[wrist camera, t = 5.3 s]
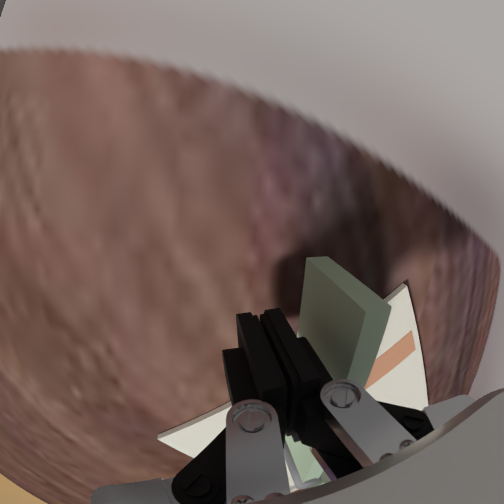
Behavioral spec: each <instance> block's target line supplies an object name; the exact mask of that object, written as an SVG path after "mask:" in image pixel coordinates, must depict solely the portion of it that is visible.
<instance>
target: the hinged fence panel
mask: <svg viewBox="0 0 504 504" xmlns="http://www.w3.org/2000/svg"><path fill="white" fill-rule="evenodd" d="M391 309H392V307H391V306H390V305H389V304H388V303H387V302H385V301H384V300H383V299H382V298H380V297H379V296H378V295H377V294H375V293H374V292H373V291H372V290H370V289H369V288H368V287H367V286H365V285H364V284H363V283H361V282H360V281H359V280H358V279H356V278H355V277H354V276H353V275H351V274H350V273H349V272H347V271H346V270H345V269H344V268H342V267H341V266H340V265H338V264H337V263H336V262H334V261H333V260H332V259H330V258H329V257H328V256H324V257H306V265H305V275H304V284H303V292H302V301H301V309H300V317H299V324H298V331H297V338H298V337H303V336H304V337H306V338H307V340H308V341H309V343H310V344H311V346H312V347H313V349H314V350H315V352H316V354H317V355H318V357H319V358H320V360H321V361H322V363H323V364H324V366H325V367H326V369H327V371H328V372H329V374H330V375H331V377H332V378H333V380H336V379H349V380H352V381H355V382H357V383H358V384H360V385H361V386H362V387H363V388H365V385H366V383H367V380H368V378H369V375H370V373H371V370H372V367H373V365H374V362H375V359H376V356H377V353H378V351H379V348H380V345H381V342H382V339H383V336H384V332H385V329H386V326H387V323H388V319H389V316H390V312H391ZM283 451H284V457H285V461H286V464H287V466H288V469H289V472H290V474H291V477H292V479H293V482H294V485H295V487H296V489H304V488H308V487H311V486H313V485H315V484H317V483H319V482H320V481H321V480H322V478H321V476H320V475H321V474H322V472H323V469H322V467H321V466H320V464H319V463H318V462H317V460H316V459H315V457H314V456H313V454H312V453H311V451H310V449H309V446H306V445H304V444H302V443H301V441H298V442H294V441H293V438H292V436H285V444H284V449H283Z"/></svg>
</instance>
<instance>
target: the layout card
mask: <svg viewBox="0 0 504 504" xmlns="http://www.w3.org/2000/svg"><path fill="white" fill-rule="evenodd" d="M383 300H384V301H385V302H387V303H388V304H389V305H390V306H391V307H392V309H391V312H390V316H389V319H388V323H387V326H386V329H385V332H384V336H383V339H382V342H381V345H380V348H379V351H378V353H377V356H376V359H375V362H374V365H373V367H372V370H371V373H370V375H369V378H368V380H367V383H366V385H365V388H364V389H365V390H366V391H367V392H368V393H369V394H370V395H371V396H372V397H373V398H374V399H375V400H376V401H381V402H385V403H389V404H394V405H398V406H403V407H408V408H413V409H417V410H420V411H422V409H423V408H424V407H427V406H428V398H427V388H426V380H425V372H424V365H423V359H422V352H421V347H420V341H419V336H418V331H417V326H416V321H415V317H414V312H413V308H412V304H411V300H410V296H409V292H408V288H407V286H406V285H405V284H403V283H402V284H401V285H400V286H399V287H398V288H396V289H395V290H394V291H393V292H392V293H391V294H389V295H388V296H387V297H386V298H385V299H383ZM231 407H232V405H231V401H230V402H228V403H226V404H224V405H222V406H220V407H218V408H216V409H214V410H212V411H210V412H208V413H206V414H204V415H202V416H199V417H197V418H195V419H193V420H191V421H189V422H186V423H184V424H182V425H180V426H177V427H175V428H173V429H170V430H168V431H165V432H163V433H161V434H158V440H160V441H162V442H164V443H165V444H167V445H169V446H171V447H173V448H175V449H177V450H179V451H181V452H183V453H185V454H187V455H189V456H191V457H193V458H195V457H196V456H197V455H198V454H199V453H200V452H201V451H202V450H203V449H204V448H205V447H206V446H207V445H208V444H210V443H211V442H212V441H213V440H214V439H215V438H216V436H217V435H218V434H219V433H220V432H221V431H222V430H223V429H224V428H225V427H226V416H227V412H228V411H229V409H230V408H231ZM285 463H286V461H285ZM286 468H287V474H288V480H289V486H290V492H293V491H295V490H298V489H296V487H295V485H294V482H293V479H292V477H291V474H290V472H289V469H288V466H287V464H286Z"/></svg>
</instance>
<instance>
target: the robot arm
mask: <svg viewBox="0 0 504 504" xmlns="http://www.w3.org/2000/svg"><path fill="white" fill-rule="evenodd" d="M5 1H6V0H0V16H1V13H2V10H3V7H4V4H5ZM236 321H237V334H238V346H239V348H233V349H226V350H222V355H223V363H224V370H225V376H226V381H227V386H228V391H229V396H230V400H231V405H232V407H231V408H230V409H229V411H228V412H227V416H226V427H225V428H224V429H223V430H222V431H221V432H220V433H219V434H218V435H217V436H216V438H215V439H214V440H213V441H212V442H211V443H210V444H208V445H207V446H206V447H205V448H204V449H203V450H202V451H201V452H200V453H199V454H198V455H197V456H196V457H195V458H194V459H193V460H192V461H191V462H190V463H189V464H188V465H186V466H185V467H184V468H183V469H182V470H181V471H180V472H179V473H178V474H177V475H176V476H175V477H174V478H169V479H164V480H163V479H162V478H157V479H152V480H146V481H140V482H134V483H126V484H118V485H107V486H103V487H99V488H98V489H96V490H95V491H94V492H93V494H92V496H91V504H504V388H502V389H499V390H496V391H493V392H491V393H489V394H487V395H485V396H483V397H482V398H480V399H478V400H477V401H475V400H474V399H473V398H472V397H470V396H468V395H459V396H456V397H454V398H451V399H448V400H445V401H442V402H440V403H437V404H433V405H430V406H427V407H424V408H423V409H422V411H420V410H417V409H413V408H408V407H403V406H398V405H394V404H389V403H385V402H381V401H376V400H375V399H374V398H373V397H372V396H371V395H370V394H369V393H368V392H367V391H366V390H365V389H364V388H363V387H362V386H361V385H360V384H358V383H357V382H355V381H352V380H349V379H336V380H333V378H332V377H331V375H330V374H329V372H328V371H327V369H326V367H325V366H324V364H323V363H322V361H321V360H320V358H319V357H318V355H317V354H316V352H315V350H314V349H313V347H312V346H311V344H310V343H309V341H308V340H307V338H306V337H304V336H303V337H298V338H297V336H296V335H295V333H294V331H293V330H292V328H291V326H290V325H289V323H288V321H287V320H286V318H285V316H284V315H283V313H282V311H281V310H280V308H276V309H269V310H265V312H264V314H261V315H260V321H259V319H258V316H257V315H254V316H252V314H251V312H248V313H241V314H236ZM285 436H292V438H293V441H294V442H298V441H301V443H302V444H304V445H306V446H309V449H310V451H311V453H312V454H313V456H314V457H315V459H316V460H317V462H318V463H319V464H320V466H321V467H322V469H323V470H324V471H325V473H326V474H327V476H328V477H329V478H330V480H331V481H330V482H327V483H325V484H322V485H318V486H315V487H312V488H309V489H306V490H302V491H299V492H295V493H291V492H290V486H289V480H288V474H287V468H286V463H285V457H284V451H283V449H284V444H285Z"/></svg>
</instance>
